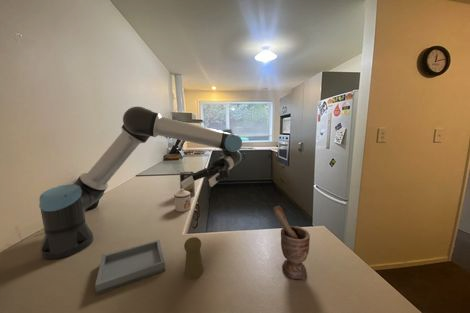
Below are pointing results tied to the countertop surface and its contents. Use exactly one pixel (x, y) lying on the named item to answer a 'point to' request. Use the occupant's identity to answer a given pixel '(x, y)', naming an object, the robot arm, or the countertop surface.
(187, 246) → the cork
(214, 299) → the countertop surface
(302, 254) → the mortar and pestle
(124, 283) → the tray
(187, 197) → the teacup with lid
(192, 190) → the coffee box
